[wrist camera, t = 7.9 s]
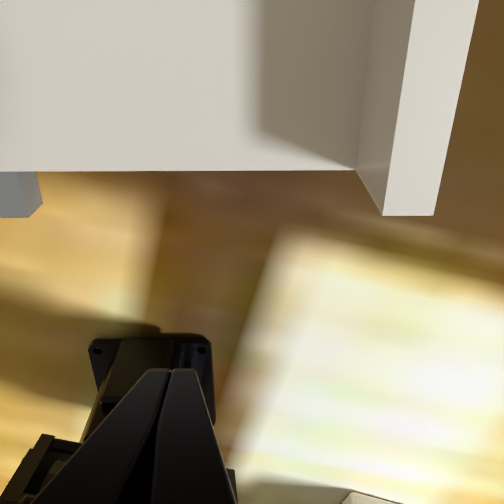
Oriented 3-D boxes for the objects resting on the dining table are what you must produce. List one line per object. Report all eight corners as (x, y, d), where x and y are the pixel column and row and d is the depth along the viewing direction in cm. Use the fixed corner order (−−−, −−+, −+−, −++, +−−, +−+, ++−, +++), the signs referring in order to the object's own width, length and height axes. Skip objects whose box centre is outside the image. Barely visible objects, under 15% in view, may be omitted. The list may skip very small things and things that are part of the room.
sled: (388, 161, 18) (433, 215, 13) (-226, 163, 18) (-380, 219, 13) (420, -54, 14) (494, -75, 10) (-343, -51, 14) (-602, -71, 10)
